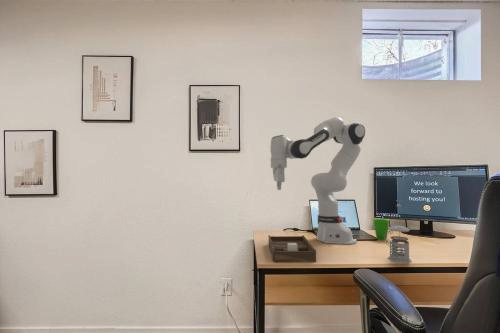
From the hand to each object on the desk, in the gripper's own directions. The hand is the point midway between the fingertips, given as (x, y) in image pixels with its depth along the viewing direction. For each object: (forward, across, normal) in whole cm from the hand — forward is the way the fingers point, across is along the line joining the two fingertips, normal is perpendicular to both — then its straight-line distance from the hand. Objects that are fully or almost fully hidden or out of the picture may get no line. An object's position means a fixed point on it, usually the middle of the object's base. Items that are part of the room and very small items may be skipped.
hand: (279, 189), depth 158 cm
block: (+27, -25, -3) cm, 37 cm away
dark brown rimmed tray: (+30, -16, -3) cm, 34 cm away
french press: (+30, -28, -50) cm, 65 cm away
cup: (+31, +10, -61) cm, 69 cm away
